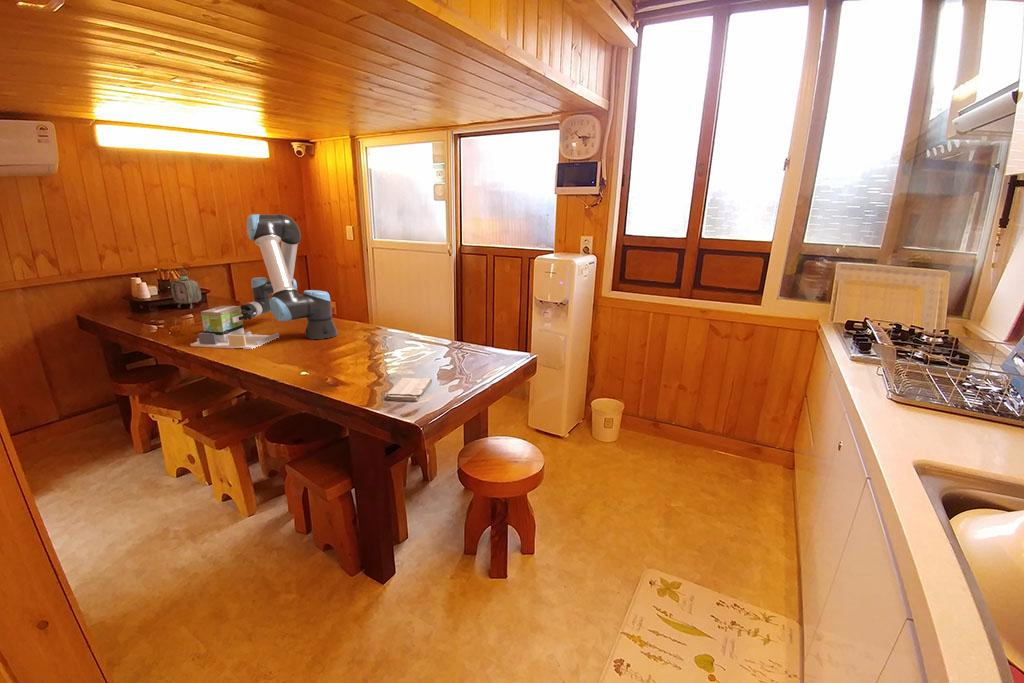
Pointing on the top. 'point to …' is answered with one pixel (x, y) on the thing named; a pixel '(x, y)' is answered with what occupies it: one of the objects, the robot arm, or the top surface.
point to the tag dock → (234, 340)
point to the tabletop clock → (185, 290)
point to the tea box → (222, 322)
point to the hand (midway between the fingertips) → (219, 319)
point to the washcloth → (409, 389)
